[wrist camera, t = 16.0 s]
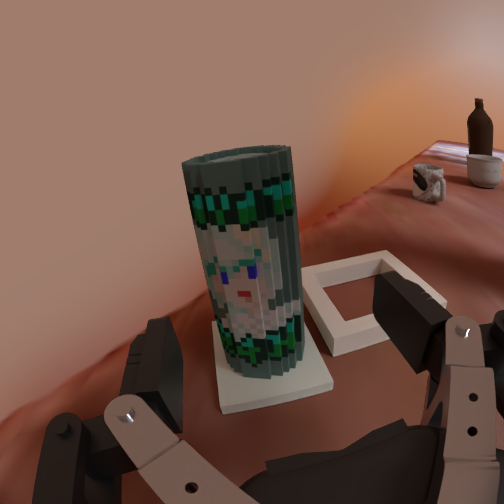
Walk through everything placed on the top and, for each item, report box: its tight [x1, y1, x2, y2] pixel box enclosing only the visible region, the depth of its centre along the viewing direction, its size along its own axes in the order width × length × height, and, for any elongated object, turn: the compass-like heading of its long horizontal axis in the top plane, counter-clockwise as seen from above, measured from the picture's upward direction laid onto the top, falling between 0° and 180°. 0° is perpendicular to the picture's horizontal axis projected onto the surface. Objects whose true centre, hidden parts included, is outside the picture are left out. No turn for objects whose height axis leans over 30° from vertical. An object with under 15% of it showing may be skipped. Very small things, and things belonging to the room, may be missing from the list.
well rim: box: [301, 250, 447, 357], centre depth 28 cm, size 12×12×2 cm
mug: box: [413, 164, 446, 202], centre depth 52 cm, size 10×7×7 cm, turn 179°
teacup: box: [466, 154, 502, 188], centre depth 59 cm, size 14×11×8 cm
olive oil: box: [467, 98, 493, 156], centre depth 77 cm, size 11×11×25 cm
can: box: [182, 145, 305, 379], centre depth 20 cm, size 6×6×15 cm
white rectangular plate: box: [212, 321, 333, 414], centre depth 24 cm, size 8×10×1 cm
